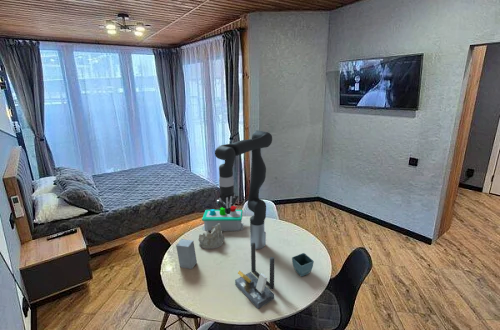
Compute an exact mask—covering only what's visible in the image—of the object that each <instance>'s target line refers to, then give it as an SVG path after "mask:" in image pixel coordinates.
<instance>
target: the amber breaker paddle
mask: <svg viewBox="0 0 500 330" xmlns="http://www.w3.org/2000/svg"><path fill="white" fill-rule="evenodd" d="M237 274H238V276H240V277H242V278H243V279H245V280H246V281H247V282H249V283H250V282H251V281H252V280H250V279H249V278H248V277H247V276H246V274H245V273H243V272H242V271H241V270H239V271H238V272H237Z"/></svg>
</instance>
